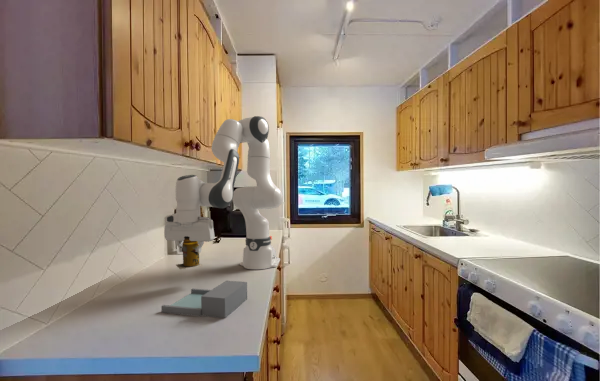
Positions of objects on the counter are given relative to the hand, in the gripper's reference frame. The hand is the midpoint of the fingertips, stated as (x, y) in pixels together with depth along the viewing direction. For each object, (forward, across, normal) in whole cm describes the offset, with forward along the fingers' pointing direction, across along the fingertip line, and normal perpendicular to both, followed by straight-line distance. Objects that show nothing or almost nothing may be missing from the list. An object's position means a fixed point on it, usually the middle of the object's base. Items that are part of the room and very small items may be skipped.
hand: (190, 252), depth 122 cm
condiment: (+6, +1, 0) cm, 6 cm away
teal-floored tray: (+14, -16, +15) cm, 26 cm away
